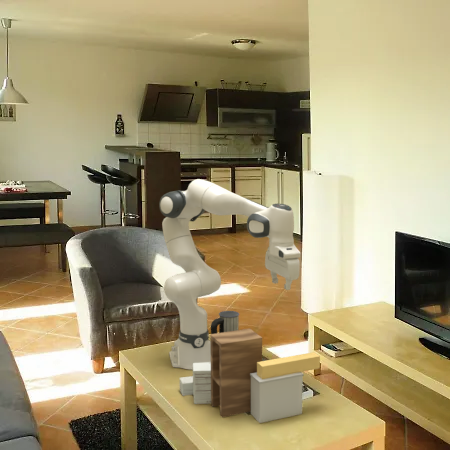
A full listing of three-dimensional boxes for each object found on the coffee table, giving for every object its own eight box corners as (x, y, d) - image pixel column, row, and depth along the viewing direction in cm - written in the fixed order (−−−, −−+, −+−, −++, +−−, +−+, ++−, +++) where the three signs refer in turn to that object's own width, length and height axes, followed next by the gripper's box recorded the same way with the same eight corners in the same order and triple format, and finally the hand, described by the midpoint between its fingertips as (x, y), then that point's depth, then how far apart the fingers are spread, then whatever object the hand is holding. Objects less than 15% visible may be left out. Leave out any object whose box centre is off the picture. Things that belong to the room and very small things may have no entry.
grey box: (249, 413, 202) (249, 373, 200) (292, 404, 208) (292, 365, 206) (259, 423, 195) (259, 382, 193) (302, 413, 202) (303, 373, 199)
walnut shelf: (211, 404, 209) (210, 334, 204) (249, 397, 214) (249, 328, 210) (222, 417, 200) (221, 344, 195) (261, 409, 205) (262, 337, 201)
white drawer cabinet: (193, 395, 216) (192, 362, 214) (213, 394, 217) (213, 361, 214) (193, 404, 209) (192, 370, 207) (214, 403, 209) (213, 370, 207)
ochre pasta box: (256, 374, 199) (256, 362, 198) (313, 364, 207) (313, 352, 206) (262, 379, 195) (262, 366, 194) (319, 368, 203) (320, 356, 203)
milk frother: (226, 340, 271) (226, 309, 268) (255, 347, 262) (255, 315, 259) (207, 349, 260) (207, 317, 257) (237, 357, 250) (237, 324, 248)
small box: (197, 394, 217) (197, 381, 216) (182, 396, 215) (182, 383, 215) (194, 387, 222) (194, 375, 222) (179, 389, 221) (178, 377, 220)
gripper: (260, 244, 222) (260, 280, 224) (287, 255, 203) (286, 294, 205) (275, 243, 224) (275, 278, 226) (303, 253, 205) (302, 292, 208)
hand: (281, 286), depth 216 cm, fingers open, 8 cm apart
